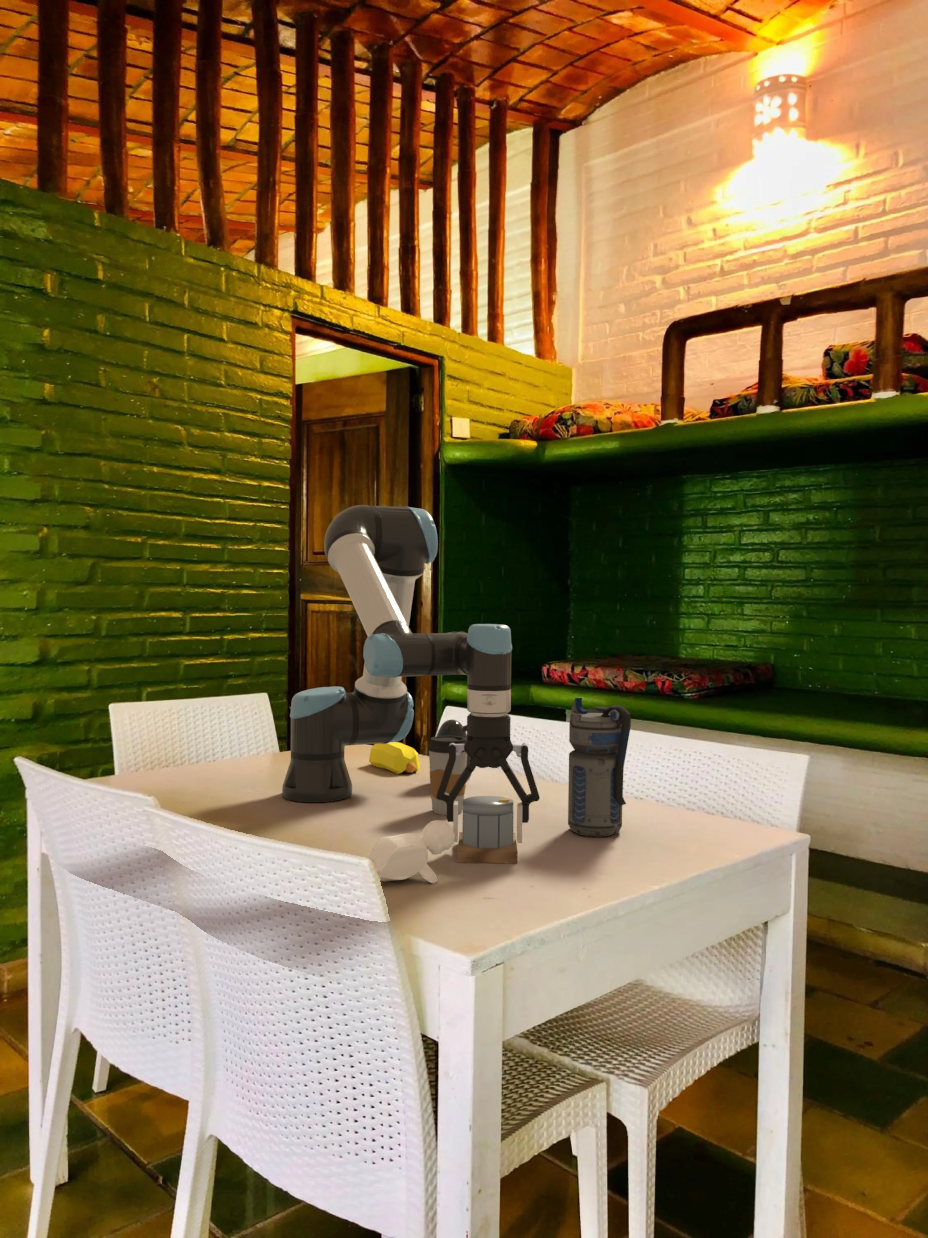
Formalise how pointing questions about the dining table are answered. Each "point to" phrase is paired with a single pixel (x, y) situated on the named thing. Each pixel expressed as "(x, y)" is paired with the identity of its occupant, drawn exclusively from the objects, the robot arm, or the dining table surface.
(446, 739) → the coffee cup
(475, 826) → the cap
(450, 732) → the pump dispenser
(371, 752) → the yellow faceted long part
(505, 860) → the stud base
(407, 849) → the white animal figurine
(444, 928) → the dining table surface
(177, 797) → the dining table surface
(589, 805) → the beverage bottle
